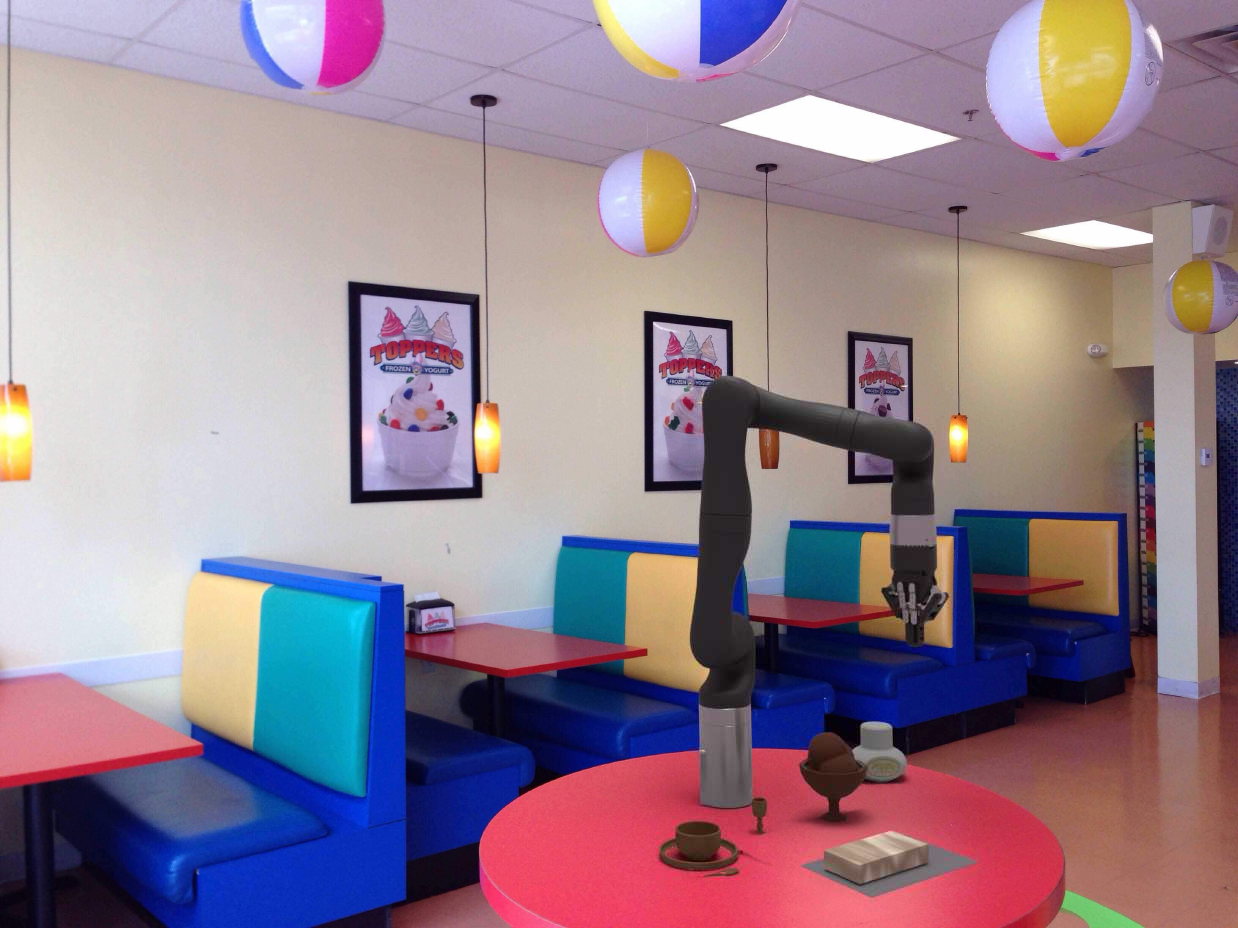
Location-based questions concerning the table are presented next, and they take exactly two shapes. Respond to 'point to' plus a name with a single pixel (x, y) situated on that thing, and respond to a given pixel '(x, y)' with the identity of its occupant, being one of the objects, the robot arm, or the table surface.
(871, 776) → the air freshener
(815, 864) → the mat
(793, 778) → the table surface
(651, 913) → the table surface
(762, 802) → the place setting
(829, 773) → the ice cream bowl
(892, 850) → the tile
